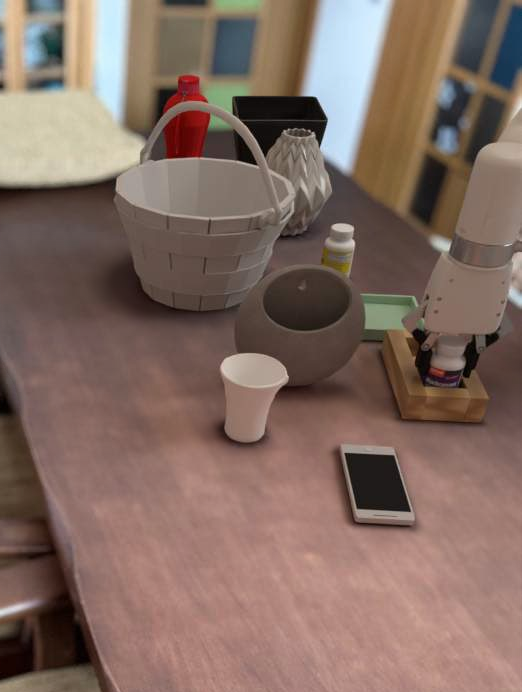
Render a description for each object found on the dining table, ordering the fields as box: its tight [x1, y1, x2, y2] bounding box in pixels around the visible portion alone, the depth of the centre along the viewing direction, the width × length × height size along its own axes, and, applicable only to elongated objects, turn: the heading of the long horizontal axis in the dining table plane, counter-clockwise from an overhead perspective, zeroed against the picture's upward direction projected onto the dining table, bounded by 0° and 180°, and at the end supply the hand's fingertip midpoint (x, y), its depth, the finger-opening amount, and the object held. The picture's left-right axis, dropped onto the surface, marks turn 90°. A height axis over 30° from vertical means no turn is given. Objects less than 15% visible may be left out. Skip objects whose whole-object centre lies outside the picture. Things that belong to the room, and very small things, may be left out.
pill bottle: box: [420, 334, 468, 388], centre depth 118 cm, size 5×5×10 cm
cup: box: [219, 353, 289, 443], centre depth 111 cm, size 9×9×10 cm
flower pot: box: [231, 95, 329, 166], centre depth 183 cm, size 19×19×17 cm
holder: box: [380, 329, 490, 424], centre depth 123 cm, size 11×20×4 cm, turn 176°
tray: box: [360, 293, 425, 342], centre depth 139 cm, size 17×13×2 cm
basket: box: [113, 101, 296, 312], centre depth 139 cm, size 31×35×30 cm
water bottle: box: [162, 74, 212, 159], centre depth 171 cm, size 9×11×25 cm
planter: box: [233, 263, 366, 387], centre depth 118 cm, size 18×7×19 cm, turn 87°
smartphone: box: [339, 443, 416, 526], centre depth 105 cm, size 7×15×1 cm, turn 176°
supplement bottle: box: [320, 223, 356, 279], centre depth 149 cm, size 5×5×10 cm
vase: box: [265, 128, 333, 237], centre depth 164 cm, size 16×16×18 cm
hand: (442, 371), depth 118 cm, fingers closed on pill bottle, 5 cm apart
